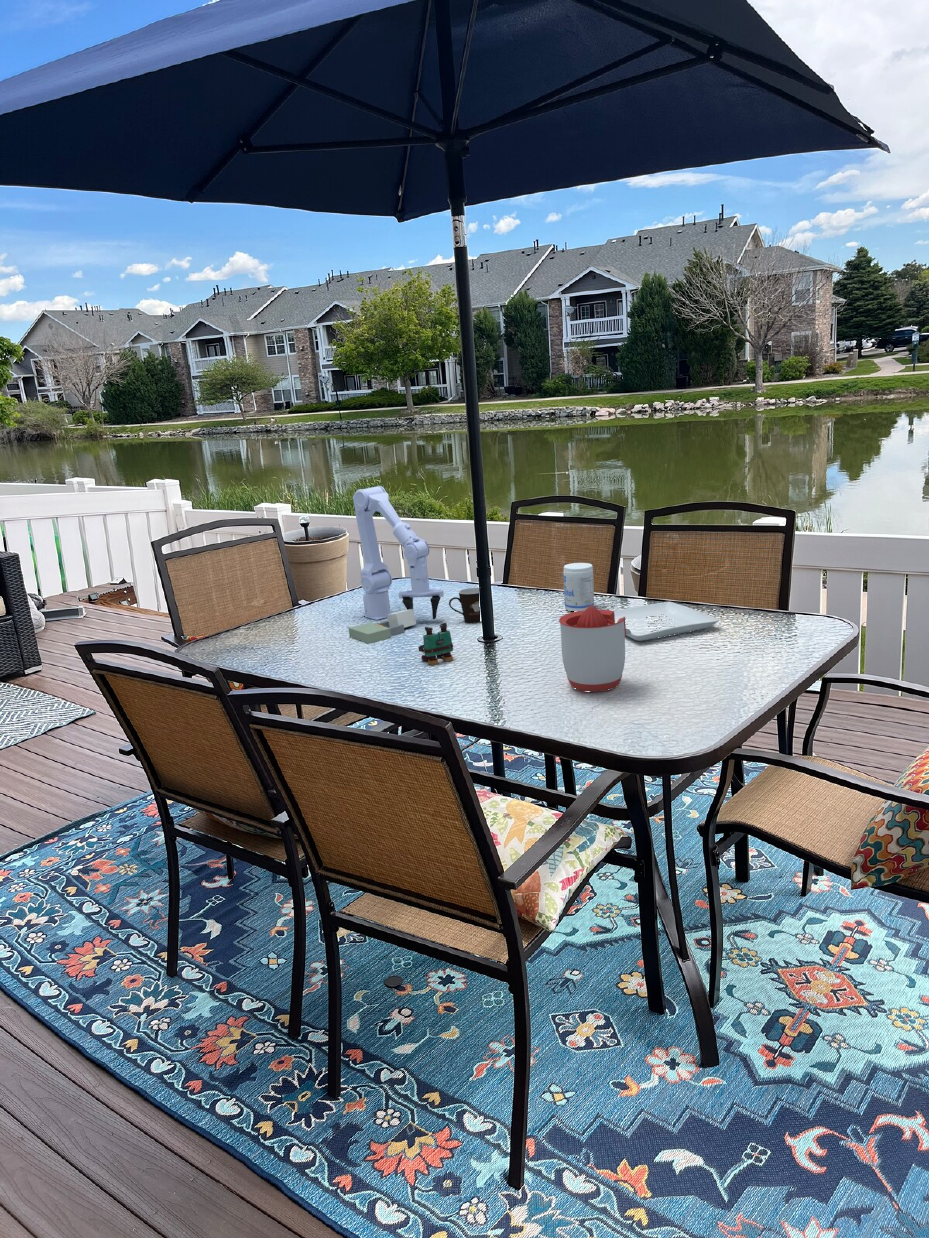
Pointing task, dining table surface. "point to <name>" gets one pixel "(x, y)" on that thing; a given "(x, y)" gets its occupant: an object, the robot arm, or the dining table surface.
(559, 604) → the dining table surface
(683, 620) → the square plate
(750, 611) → the dining table surface
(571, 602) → the supplement tub
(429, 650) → the binoculars
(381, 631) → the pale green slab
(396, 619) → the tall pale grey block
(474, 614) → the coffee mug
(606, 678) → the citrus juicer
